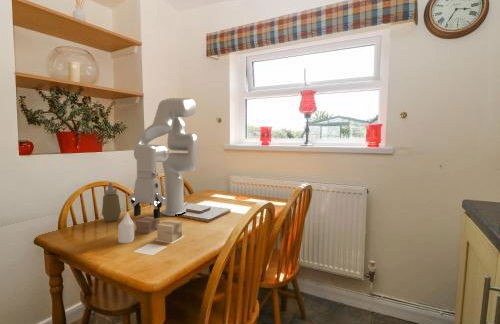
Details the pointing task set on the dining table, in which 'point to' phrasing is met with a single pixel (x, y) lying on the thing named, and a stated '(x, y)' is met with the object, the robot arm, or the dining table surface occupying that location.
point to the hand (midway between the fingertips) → (146, 216)
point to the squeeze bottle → (111, 205)
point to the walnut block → (147, 225)
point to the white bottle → (126, 230)
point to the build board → (153, 248)
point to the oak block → (169, 230)
